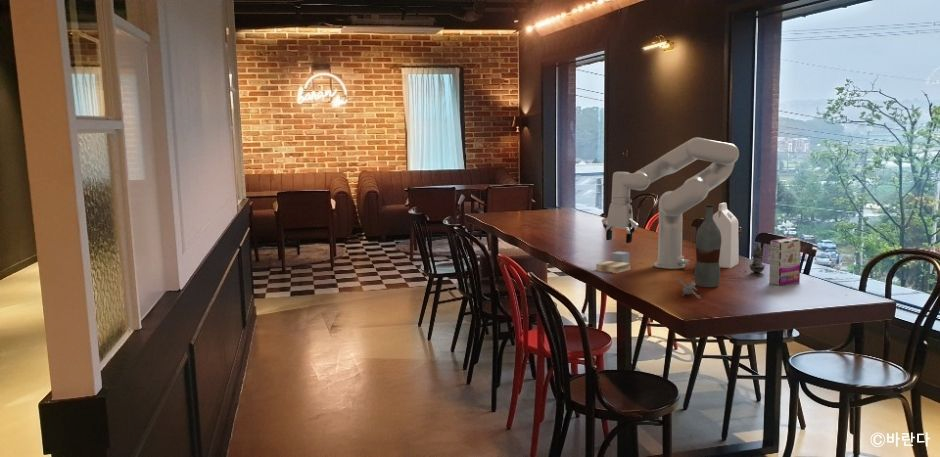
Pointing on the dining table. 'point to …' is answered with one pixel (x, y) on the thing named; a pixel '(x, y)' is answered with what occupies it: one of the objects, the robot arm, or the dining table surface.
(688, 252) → the dining table surface
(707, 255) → the bottle
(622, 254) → the slate cube
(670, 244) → the robot arm
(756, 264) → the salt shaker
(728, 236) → the milk
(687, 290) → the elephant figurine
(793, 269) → the candy bar box
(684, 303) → the dining table surface
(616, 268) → the beech block
